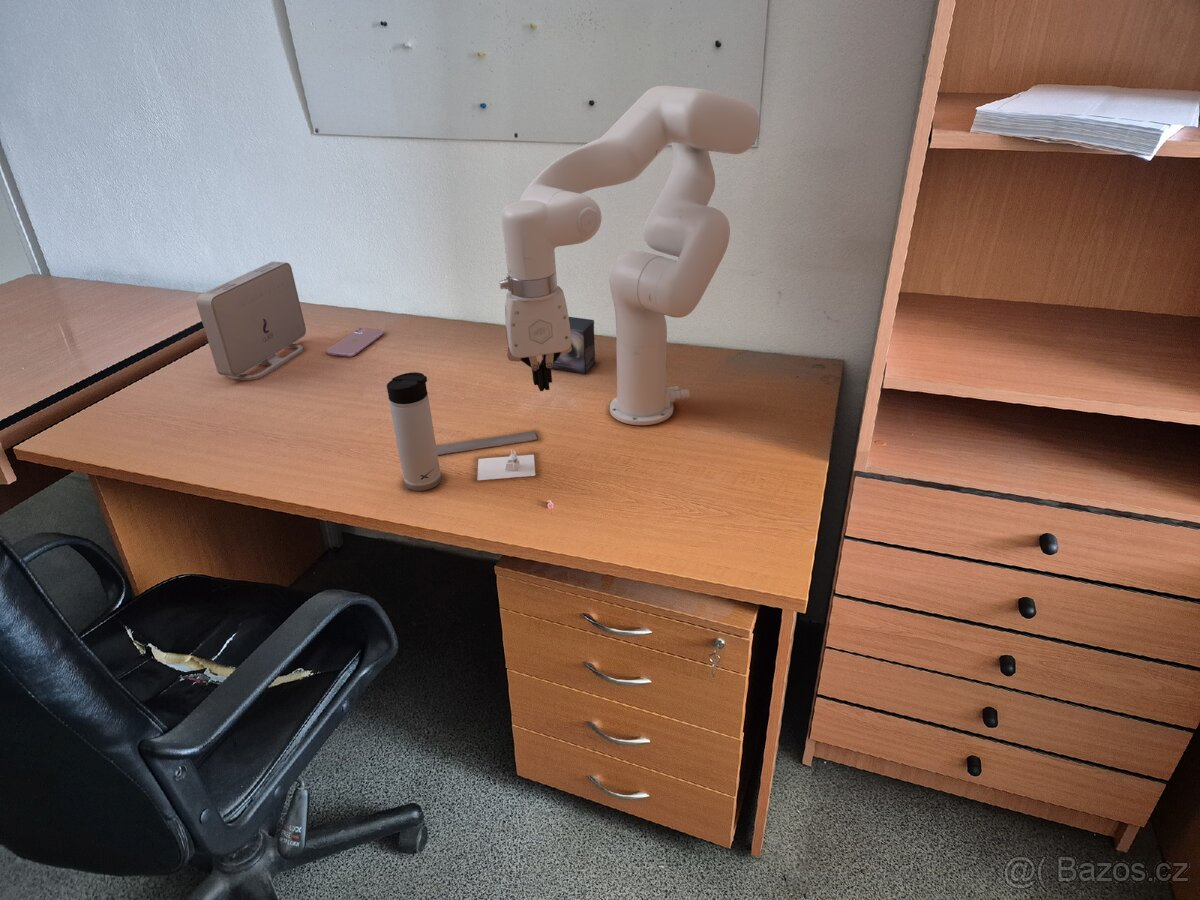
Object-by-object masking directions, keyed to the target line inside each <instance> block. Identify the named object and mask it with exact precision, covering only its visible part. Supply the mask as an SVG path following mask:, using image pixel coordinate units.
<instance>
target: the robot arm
mask: <svg viewBox="0 0 1200 900" xmlns="http://www.w3.org/2000/svg"><path fill="white" fill-rule="evenodd" d="M759 132H760V118H759V114H758V111H757V109H756V108H755V107H754V106H753V104H751V103H750V102H748V101H746V100H743V99H739V98H736V97H732V96H729V95H724V94H722V93H718V92H715V91H712V90H708V89H704V88H699V87H687V86H678V85H677V86H676V85H656V86H653V87H650V88H649V89H648V90H646V91H645V92H644V93H643V94H642V95H641V96H640V97H639V98H638V99H636V101H635V102H634V103H633V104H632V105H631V106H630V107H629V108H628V109H627V110H626V111H625V112H624V114H622V115H621V116H620V117H619V118H618V119H617V121H615V122H614V124H613V125H611V127H610V128H609V129H608V130H607V131H606V132H605V133H604V134H603V135H602V136H600V137H598V138H597V139H594V140H592V141H590V142H588V143H585V144H584V145H582V146H580V147H577V148H575V149H574V150H572V151H569V152H567V153H566V154H563V155H562V156H560V157H558V158H556V159H555V160H554V161H552V162H550V163H549V164H548V165H547V166H546V167H545V168H544V169H543V170H542V171H540V173H539V174H538V175H537V176H536V177H534V178H533V180H532V181H531V182H530V183H529V184H528V185H527V187H525V189H524V191H523V192H522V194H521V196H520V198H519V200H518V201H514V202H511V203H509V204H507V205H506V206H504V208H503V209H502V211H501V226H502V234H503V242H504V243H503V244H504V253H505V260H506V269H507V273H506V276H505V278H504V279H503V280H499V281H498V282H499V283H498V284H499V288H500V290H507V292H506V294H505V305H504V318H505V319H504V321H505V337H506V343H507V345H508V347H507V353H506V357H507V360H508V361H510V362H518V363H519V362H522V363H523V364H525V365H527V366H528V367H529V368H531V374H532V382H533V385H534V386H537V388H538V390H539V391H540V392H544V391H550V384H551V383H553V377H552V366H553V363H554V362H555V361H556V360H557V358H558V357H559V356H560V355H563V354H566V353H568V352H570V351H572V347H571V331H570V324H569V317H570V316H569V311H568V306H567V301H566V297H565V293H564V290H563V288H561V287H560V286H559V285H558V279H557V277H558V276H557V266H556V265H557V263H556V253H555V249H556V248H557V247H566V246H572V245H573V246H574V245H579V244H583V243H585V242H588V241H589V240H591V239H592V238H593V237H594V236H595V235H596V234H597V233H598V231H599V230H600V227H601V224H602V219H603V218H602V211H601V208H600V206H599V204H598V203H597V202H596V201H595V200H594V199H593V198H591V196H588V195H585V194H584V193H586V192H589V191H591V190H595V189H599V188H606V187H611V186H612V187H613V186H618V185H621V184H624V183H625V184H626V183H628V182H631V181H634V180H635V179H637V178H638V177H639V176H641V175H642V173H643V172H644V171H645V170H646V169H647V167H649V166H650V164H651V163H652V162H653V161H654V160H655V159H656V158H657V157H658V156H659V155H660V153H662V151H664V149H665V148H667V146H668V145H670V144H671V151H672V167H671V170H670V173H669V175H668V178H667V180H666V183H665V184H664V186H663V188H662V190H661V192H660V194H659V196H658V198H657V199H656V201H655V203H654V205H653V207H652V209H651V211H650V213H649V214H648V217H647V219H646V221H645V224H644V227H643V232H642V236H643V240H644V242H645V243H646V245H647V246H648V247H649V248H651V249H652V250H654V251H655V252H656V251H657V252H660V253H663V254H665V255H669V256H673V257H676V258H678V259H672V258H668V257H665V256H662V255H658V254H655V253H650V252H646V251H641V250H632V251H631V250H630V251H627V252H624V253H622V254H620V255H619V256H618V257H616V259H615V261H614V262H613V263H612V265H611V268H610V272H609V289H610V293H611V298H612V302H613V308H614V313H615V314H614V315H615V335H616V336H615V338H616V339H615V341H616V342H615V344H616V351H615V352H616V397H614V398H613V399H612V400H611V401H610V403H609V414H610V415H611V417H613V419H615V420H617V421H619V422H621V423H623V424H627V425H632V426H650V425H656V424H659V423H662V422H664V421H666V420H668V419H669V418H671V416H672V415H673V413H674V403H675V402H676V401H683V400H689V399H690V397H691V395H690V390H689V389H688V388H685V389H680V388H679V386H678V385H675V386H669V387H668V386H667V348H668V347H667V345H668V343H667V341H668V340H667V339H668V326H667V325H668V324H667V320H666V319H667V318H666V316H667V317H670V318H676V319H680V318H681V319H682V318H684V317H687V316H689V315H690V314H691V313H692V312H693V311H695V309H696V308H697V306H698V305H699V303H700V302H701V300H702V297H703V296H704V294H705V292H706V290H707V288H708V287H709V285H710V283H711V281H712V279H713V277H714V275H715V273H716V271H717V270H718V268H719V266H720V264H721V263H722V260H723V258H724V256H725V254H726V252H727V249H728V246H729V242H730V236H731V226H730V222H729V219H728V217H727V216H726V214H725V213H724V212H723V211H721V210H720V209H717V208H715V207H712V206H708V205H709V202H710V201H711V199H712V196H713V195H714V191H715V188H716V173H715V169H714V166H713V163H712V159H711V156H710V152H715V153H722V154H729V155H740V154H743V153H745V152H747V151H748V150H749V149H750V148H752V146H753V145H754V144H755V142H756V140H757V138H758V135H759ZM542 355H543V360H542V359H541V361H540V362H539V360H538V357H537V356H542Z"/></svg>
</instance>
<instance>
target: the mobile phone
mask: <svg viewBox="0 0 1200 900" xmlns="http://www.w3.org/2000/svg"><path fill="white" fill-rule="evenodd" d="M384 334H385V332H384V330H383V329H374V328H365V327H359V328H356V329H355V330H354V331H352V332H351V333H349V334H348V335H346V336H345V337H343V338H342V339H341V340H338V342H336V343H334V344H333V345H332V346H331V347H329V348H328V349H326V351H325V353H326V354H327V355H329V356H338V357H347V358H352V357H354V356H356V355H357V354H359V353H360V352H361V351H363V350H364V349H365V348H367V347H368V346H369V345H371V344H372V343H374V342H375V341H376V340H378V339H379V338H380V337H382V336H383V335H384Z"/></svg>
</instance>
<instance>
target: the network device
mask: <svg viewBox="0 0 1200 900" xmlns="http://www.w3.org/2000/svg"><path fill="white" fill-rule="evenodd" d="M300 302H301V301H300V298H299V294H298V290H297V285H296V282H295V277H294V272H293V269H292V265H291V264H290V262H289V263H288V262H284V261H270V262H268V263H266V264H264V265H261V266H259V267H257V268H254V269H253V270H251V271H249V272H246V273H244V274H241V275H240V276H238V277H235V278H233V279H231V280H229V281H226V282H225V283H222V284H220V285H217V286H216V287H214V288H211V289H210V290H207V291H205V292H203V293H201V294H199V295H198V296H197V297H196V307H197V310H198V314H199V317H200V319H201V323H202V326H203V330H204V333H205V336H206V339H207V342H208V345H209V348H210V352H211V355H212V358H213V362H214V366H215V368H216V372H217V373H218V374H219V375H220V376H227V377H228V378H230V379H234V380H240V381H253V380H257V379H261V378H262V377H265V376H266V375H268V374H270V373H271V372H272V371H274V370H275V369H277V368H279V367H280V366H282V365H284V364H285V363H287V362H289V361H290V360H291V359H293V358H294V357H296V356H298V355H299V354H301V353H302V352H303V351H304V348H303V345H302V344H299V343H296V342H298V341H299V340H301V339H303V337H304V336H305V335H306V333H307V328H306V324H305V319H304V315H303V310H302V306H301V303H300ZM286 348H288V349H295V350H293V351H292V352H291V353H289V354H287V355H286V356H283V357H278V356H277V353H279V352H281V351H282V350H284V349H286ZM258 365H264V366H268V367H266V368H265V369H263V370H262V371H260V372H258V373H257V374H254V375H249V374H245V373H246V372H248V371H250V370H251V369H253V368H255V367H256V366H258Z"/></svg>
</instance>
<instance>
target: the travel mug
mask: <svg viewBox="0 0 1200 900" xmlns="http://www.w3.org/2000/svg"><path fill="white" fill-rule="evenodd" d="M427 382H428V377H427V376H426V375H425V374H424V373H422V372H418V371H417V372H416V371H415V372H414V371H413V372H406V373H402V374H399V375H396V376H394V377H393V378H391V380H390V381H388V383H386V392H387V395H388V403H389V408H390V414H391V421H392V425H393V429H394V435H395V440H396V441H395V442H396V446H397V451H398V456H399V463H400V467H401V472H402V477H403V482H404V486H405V487H406V488H407V489H409V490H411V491H416V492H423V491H424V492H425V491H428V490H431V489H433V488H435V487H437V486H438V485H439V484H440V483H441V481H442V474H441V467H440V462H439V461H440V460H439V457H438V455H437V448H436V446H437V442H436V436H435V430H434V424H433V418H432V411H431V405H430V398H429V392H428V390H427Z"/></svg>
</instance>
